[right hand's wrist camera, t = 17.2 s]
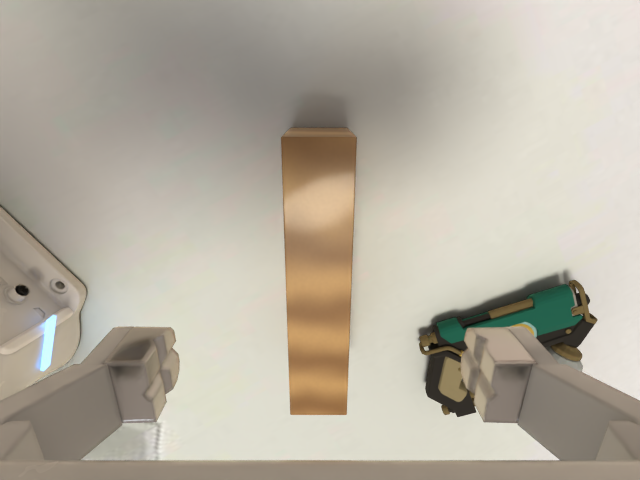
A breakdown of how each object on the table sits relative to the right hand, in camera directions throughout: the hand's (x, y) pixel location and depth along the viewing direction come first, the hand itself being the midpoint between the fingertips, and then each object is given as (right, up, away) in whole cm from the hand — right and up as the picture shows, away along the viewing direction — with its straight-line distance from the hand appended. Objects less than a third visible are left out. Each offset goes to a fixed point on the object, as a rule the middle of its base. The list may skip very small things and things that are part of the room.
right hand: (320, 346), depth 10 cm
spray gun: (+19, -8, +29) cm, 36 cm away
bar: (0, +2, +26) cm, 26 cm away
